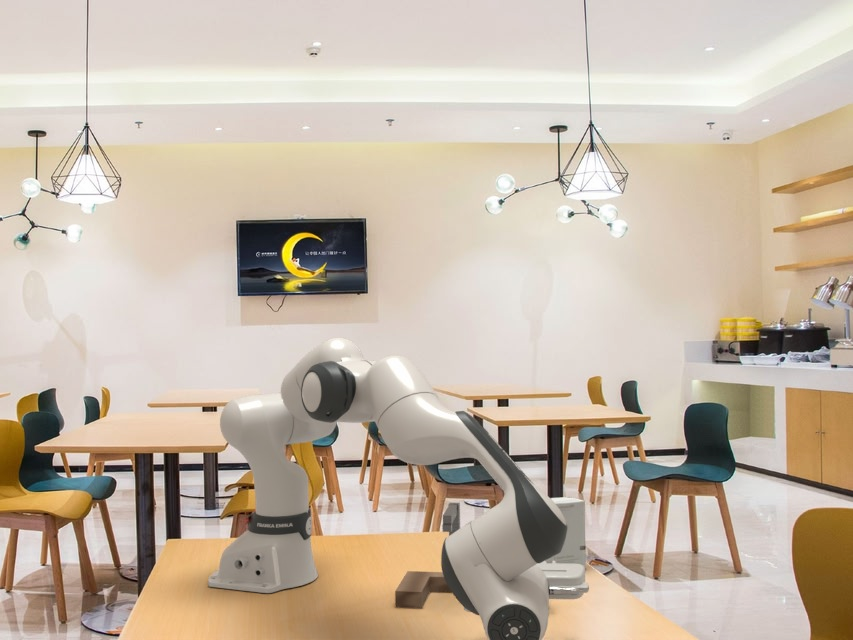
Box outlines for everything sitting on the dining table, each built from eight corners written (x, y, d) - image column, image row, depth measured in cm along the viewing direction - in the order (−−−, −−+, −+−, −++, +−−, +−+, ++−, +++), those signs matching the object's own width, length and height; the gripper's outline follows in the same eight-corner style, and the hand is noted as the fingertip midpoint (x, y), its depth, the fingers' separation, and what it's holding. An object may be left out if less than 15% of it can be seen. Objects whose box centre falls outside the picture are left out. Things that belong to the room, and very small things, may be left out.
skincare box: (554, 576, 156) (553, 504, 156) (538, 568, 161) (536, 498, 161) (588, 570, 159) (586, 499, 159) (571, 562, 165) (569, 494, 165)
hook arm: (443, 609, 138) (441, 516, 138) (451, 588, 149) (449, 502, 150) (454, 610, 138) (451, 516, 138) (461, 588, 149) (459, 502, 149)
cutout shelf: (395, 607, 140) (395, 591, 140) (407, 586, 151) (407, 571, 151) (503, 611, 136) (503, 594, 136) (507, 589, 148) (507, 574, 148)
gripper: (588, 571, 112) (584, 546, 125) (452, 569, 115) (463, 545, 129) (590, 614, 111) (586, 584, 125) (454, 611, 115) (464, 582, 128)
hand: (523, 564), depth 127 cm, fingers open, 8 cm apart
